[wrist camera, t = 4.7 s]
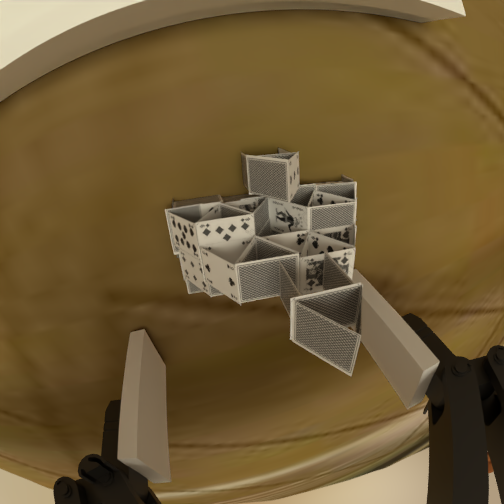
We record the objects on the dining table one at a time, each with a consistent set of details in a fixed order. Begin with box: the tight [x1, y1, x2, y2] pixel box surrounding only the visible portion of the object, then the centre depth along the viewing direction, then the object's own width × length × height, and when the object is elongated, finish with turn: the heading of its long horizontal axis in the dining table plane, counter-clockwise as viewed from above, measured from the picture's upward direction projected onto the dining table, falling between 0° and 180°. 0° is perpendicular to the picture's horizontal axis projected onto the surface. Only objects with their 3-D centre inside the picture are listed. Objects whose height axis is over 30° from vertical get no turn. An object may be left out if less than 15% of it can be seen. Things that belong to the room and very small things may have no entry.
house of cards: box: [165, 148, 363, 376], centre depth 8 cm, size 9×9×8 cm
